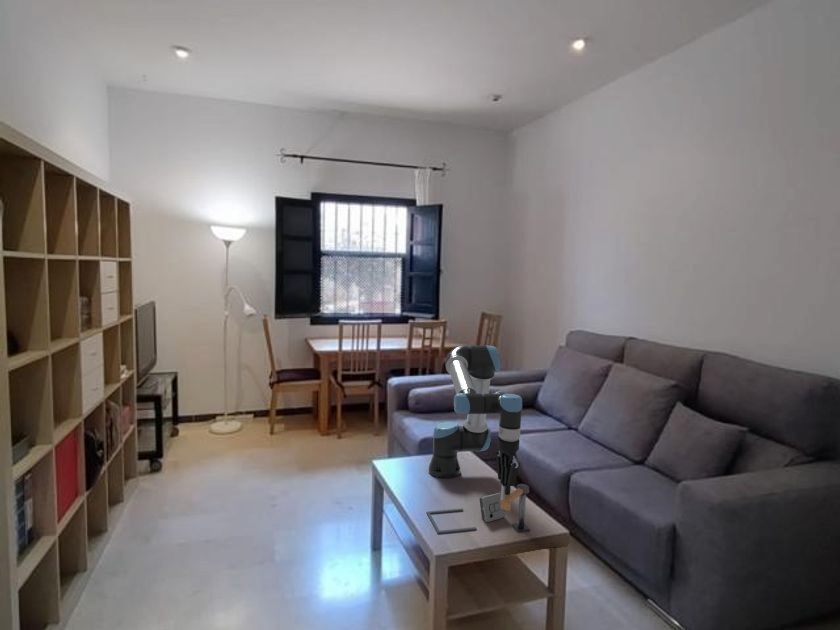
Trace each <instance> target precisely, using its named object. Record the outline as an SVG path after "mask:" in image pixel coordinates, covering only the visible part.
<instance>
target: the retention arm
mask: <svg viewBox="0 0 840 630" xmlns="http://www.w3.org/2000/svg"><path fill="white" fill-rule="evenodd" d="M529 492H530V486H529V485H527V484H524V483H518V484H516V489H515V490H513V491H512V492H510V495H508V496H507V497H506V498H504V499H503V500H501V507H500V509H503V510H504V511H506V512H510V511H511V509H512V502H514V501H515V500H516V499H518V498H519V496H520V495H521V494H526V495H527V494H529Z"/></svg>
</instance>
